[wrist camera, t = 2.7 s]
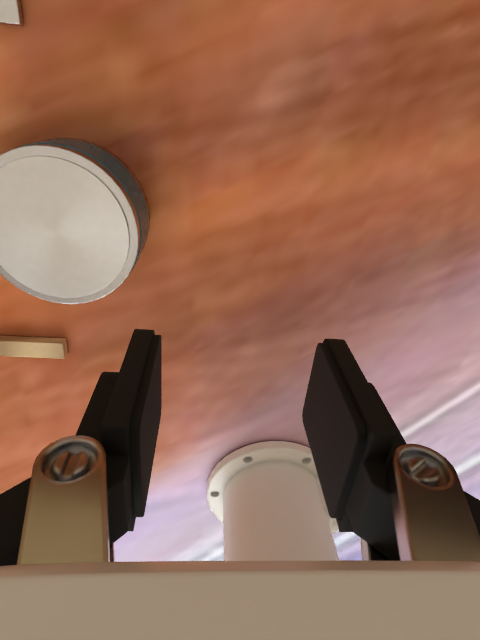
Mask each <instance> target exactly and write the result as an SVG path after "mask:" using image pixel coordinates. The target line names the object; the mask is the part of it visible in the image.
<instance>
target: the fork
mask: <svg viewBox="0 0 480 640" xmlns="http://www.w3.org/2000/svg"><path fill="white" fill-rule="evenodd" d="M0 23H3V24H12V25H20V26H23V25H24V24H23V17H22V9H21V2H20V0H0Z"/></svg>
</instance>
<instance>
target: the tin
mask: <svg viewBox="0 0 480 640" xmlns="http://www.w3.org/2000/svg"><path fill="white" fill-rule="evenodd" d="M149 220H150V217H149V208H148V203H147V199H146V196H145V193H144V191H143V189H142V187H141V185H140V183H139V181H138V180H137V178H136V176H135V175H134V173H133V172H132V171H131V170H130V169H129V167H128V166H127V165H126V164H125V163H124V162H123V161H122V160H121V159H119V158H118V157H117V156H115V155H114V154H113V153H111V152H110V151H108V150H106V149H105V148H103V147H101V146H99V145H96V144H94V143H91V142H88V141H85V140H80V139H74V138H56V139H48V140H44V141H39V142H35V143H30V144H26V145H23V146H19V147H16V148H14V149H12V150H9V151H7V152H5V153H3V154H1V155H0V274H1V275H2V276H3V277H4V278H5V279H7V280H8V281H9V282H10V283H12V284H13V285H15V286H16V287H17V288H19V289H21V290H23V291H24V292H26V293H28V294H30V295H33V296H35V297H37V298H40V299H43V300H46V301H51V302H55V303H64V304H78V303H86V302H90V301H94V300H97V299H99V298H102V297H104V296H106V295H108V294H110V293H111V292H113V291H114V290H115V289H117V288H118V287H119V286H120V285H121V284H122V283H123V282H124V281H125V279H126V278H127V277H128V275H129V274H130V272H131V271H132V270H133V268H134V266H135V264H136V262H137V260H138V258H139V256H140V254H141V252H142V250H143V247H144V245H145V242H146V239H147V235H148V230H149Z"/></svg>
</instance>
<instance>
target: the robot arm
mask: <svg viewBox="0 0 480 640" xmlns="http://www.w3.org/2000/svg"><path fill="white" fill-rule="evenodd" d="M160 417H161V335H155V333H154V330H143V329H135V330H134V332H133V335H132V338H131V341H130V343H129V346H128V349H127V352H126V355H125V358H124V361H123V363H122V366H121V369H120V372H103V373H102V374H101V376H100V378H99V380H98V383H97V385H96V387H95V390H94V392H93V395H92V397H91V399H90V402H89V404H88V407H87V409H86V412H85V414H84V416H83V419H82V421H81V424H80V426H79V428H78V431H77V433H76V436H69V437H65V438H61V439H59V440H57V441H55V442H53V443H51V444H49V445H48V446H47V447H46V448H44V449H43V450H42V451H41V452H40V454H39V455H38V456H37V457H36V460H35V462H34V465H33V470H32V476H31V478H29V479H27V480H25V481H23V482H22V483H20V484H18V485H16V486H14V487H13V488H11V489H9V490H7V491H6V492H4V493H2V494H0V640H480V500H478V499H476V498H475V497H473V496H471V495H470V494H468V493H466V492H464V491H463V489H462V486H461V484H460V481H459V478H458V475H457V473H456V471H455V469H454V467H453V466H452V465H451V464H450V462H449V461H448V460H447V459H446V458H445V457H443V456H442V455H440V454H439V453H438V452H436V451H434V450H432V449H430V448H428V447H425V446H422V445H418V444H406V442H405V440H404V439H403V437H402V435H401V433H400V431H399V430H398V428H397V426H396V424H395V423H394V421H393V419H392V417H391V415H390V414H389V412H388V410H387V408H386V407H385V405H384V403H383V401H382V400H381V398H380V396H379V394H378V392H377V391H376V389H375V387H374V386H373V385H372V384H371V383H369V382H367V380H366V378H365V376H364V375H363V373H362V371H361V369H360V367H359V365H358V364H357V362H356V360H355V358H354V356H353V354H352V353H351V351H350V349H349V347H348V345H347V344H346V342H345V340H341V339H325V340H324V341H323V343H318V345H317V348H316V352H315V357H314V361H313V366H312V371H311V375H310V380H309V384H308V389H307V394H306V398H305V403H304V407H303V414H302V417H303V424H304V427H305V431H306V435H307V438H308V442H309V445H310V448H308V447H306V446H303V445H300V444H297V443H292V442H286V441H267V442H259V443H255V444H251V445H247V446H245V447H242V448H240V449H238V450H235V451H234V452H232V453H230V454H229V455H227V456H226V457H224V458H223V459H222V460H221V461H220V462H219V463H218V464H217V465H216V466H215V468H214V469H213V470H212V472H211V474H210V476H209V478H208V483H207V502H208V505H209V508H210V509H211V511H212V513H213V514H214V515H215V516H216V517H217V518H218V519H219V520H220V521H221V522H223V533H224V561H168V562H115V557H114V542H115V541H116V540H117V539H119V538H120V537H121V536H123V535H124V534H125V533H126V532H127V531H133V529H134V524H135V519H136V517H143V516H144V512H145V506H146V500H147V494H148V489H149V483H150V477H151V471H152V465H153V459H154V453H155V447H156V441H157V435H158V429H159V424H160ZM337 529H339V531H340V532H354V533H355V534H357V535H358V536H359V537H361V551H362V561H339V558H338V555H337V551H336V547H335V544H334V540H333V536H332V533H336V531H337Z"/></svg>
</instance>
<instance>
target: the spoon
mask: <svg viewBox="0 0 480 640" xmlns="http://www.w3.org/2000/svg"><path fill="white" fill-rule="evenodd" d="M67 354H68V351H67V344H66V338H46V337H25V336H4V335H0V356H11V357H34V358H58V359H65V357H66V356H67Z"/></svg>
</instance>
